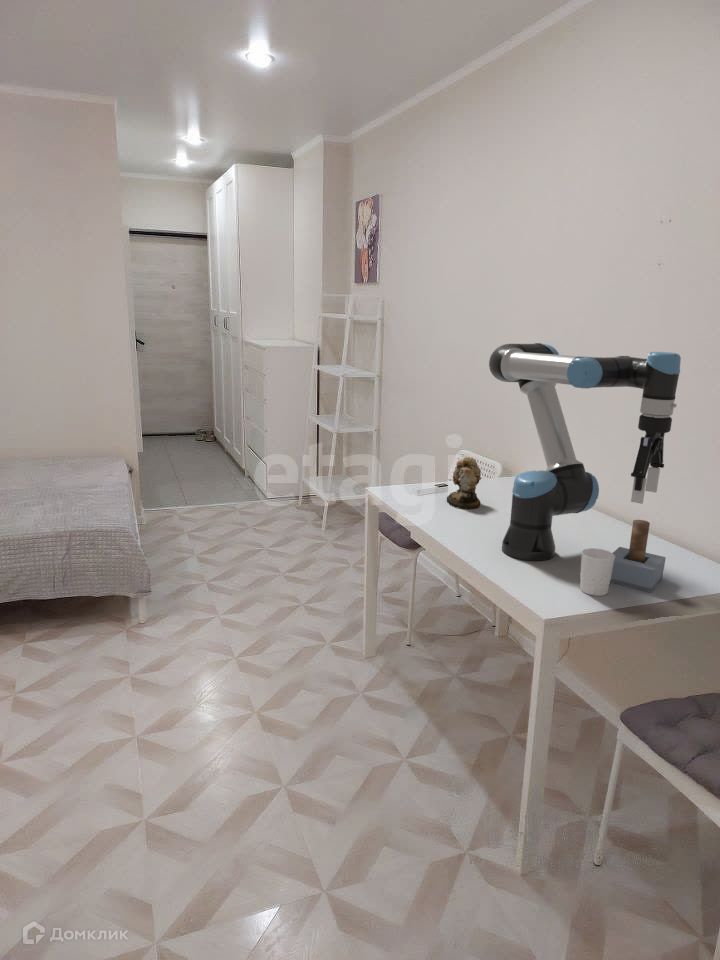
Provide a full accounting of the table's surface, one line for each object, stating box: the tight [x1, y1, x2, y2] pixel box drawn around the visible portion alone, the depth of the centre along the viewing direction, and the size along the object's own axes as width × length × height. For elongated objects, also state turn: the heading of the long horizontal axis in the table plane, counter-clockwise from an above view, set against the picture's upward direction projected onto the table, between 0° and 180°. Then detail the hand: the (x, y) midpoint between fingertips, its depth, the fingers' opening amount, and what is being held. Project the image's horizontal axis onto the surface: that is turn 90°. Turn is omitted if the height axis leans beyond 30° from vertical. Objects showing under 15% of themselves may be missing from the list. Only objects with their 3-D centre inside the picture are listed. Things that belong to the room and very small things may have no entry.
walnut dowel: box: [628, 519, 650, 563], centre depth 176 cm, size 4×4×15 cm
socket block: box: [610, 546, 666, 593], centre depth 178 cm, size 12×12×6 cm
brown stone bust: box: [446, 456, 482, 510], centre depth 242 cm, size 18×12×17 cm, turn 6°
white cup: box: [579, 547, 615, 597], centre depth 169 cm, size 8×8×10 cm
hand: (644, 496), depth 173 cm, fingers open, 13 cm apart
